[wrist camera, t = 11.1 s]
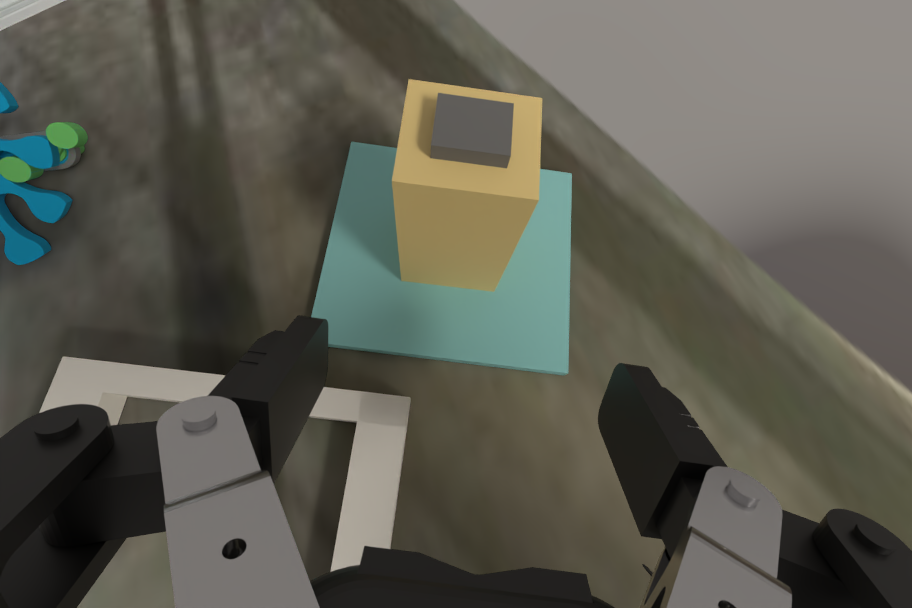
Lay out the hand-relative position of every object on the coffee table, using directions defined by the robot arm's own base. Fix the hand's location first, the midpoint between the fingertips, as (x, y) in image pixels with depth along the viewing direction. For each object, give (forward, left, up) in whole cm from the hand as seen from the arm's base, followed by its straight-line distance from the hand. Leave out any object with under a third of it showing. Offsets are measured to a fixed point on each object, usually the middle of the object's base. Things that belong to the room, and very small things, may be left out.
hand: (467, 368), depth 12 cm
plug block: (+1, -7, -7) cm, 10 cm away
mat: (+1, -7, -8) cm, 11 cm away
